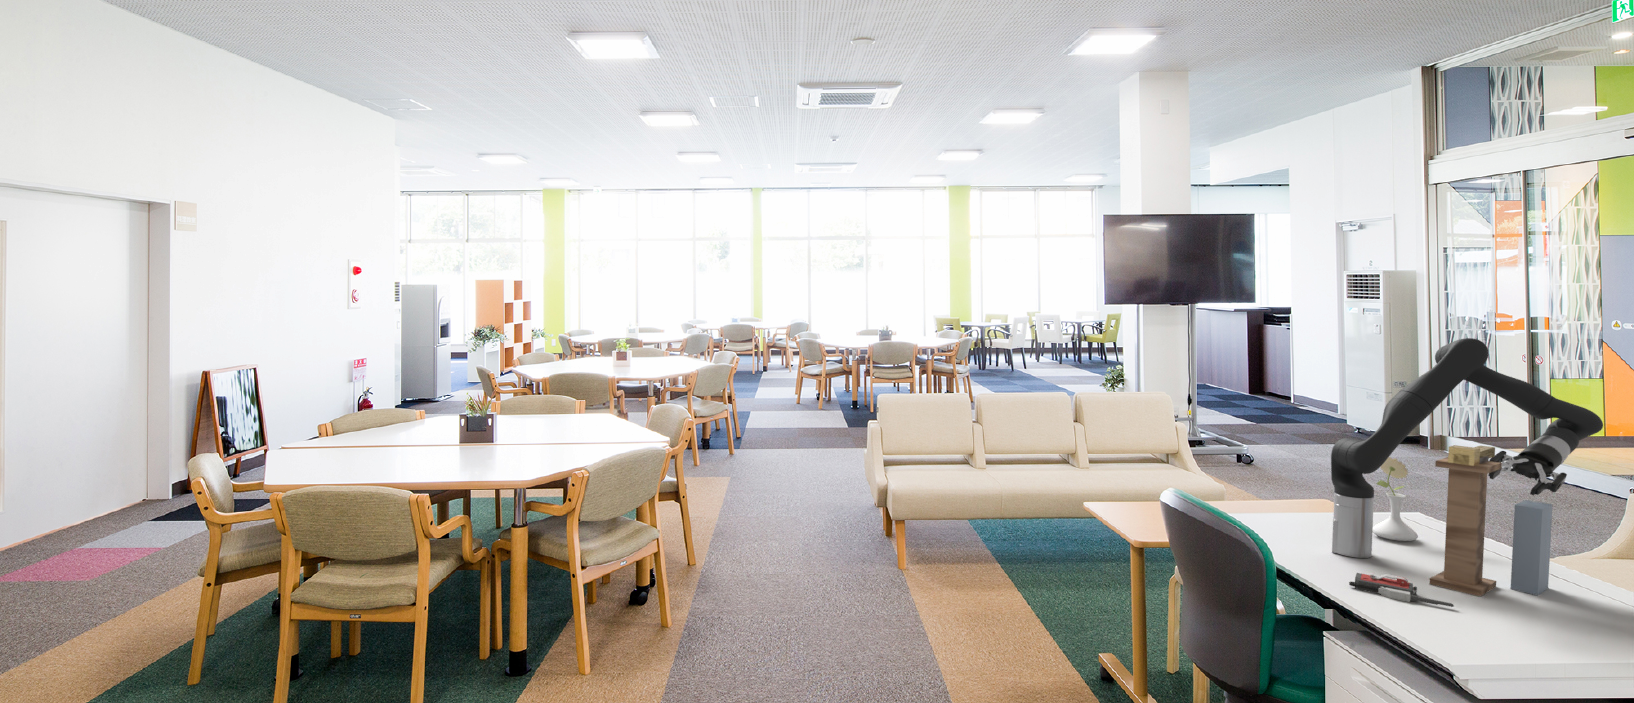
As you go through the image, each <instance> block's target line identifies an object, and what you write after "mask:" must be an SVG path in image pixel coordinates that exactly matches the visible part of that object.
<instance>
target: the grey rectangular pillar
mask: <svg viewBox="0 0 1634 703" xmlns="http://www.w3.org/2000/svg"><path fill="white" fill-rule="evenodd" d="M1513 514H1514V515H1513V534H1512V535H1513V536H1512V555H1511V572H1510V590H1514V591H1518V592H1522V593H1526V594H1531V595H1535V596H1539V595H1541V594H1542V593H1543V592H1544V591H1546V590H1548V589H1549V580H1550V579H1549V577H1550V560H1551V559H1550V558H1551V544H1552V543H1551V541H1552V522H1553V520H1552V519H1553V504H1552V503H1551V504H1550V503H1547V502H1546V503H1545V502H1540V501H1532V500H1527V499H1525V500H1522V501H1521V502H1519V503H1516V504H1514V513H1513Z"/></svg>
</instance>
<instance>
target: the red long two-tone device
mask: <svg viewBox="0 0 1634 703" xmlns="http://www.w3.org/2000/svg"><path fill="white" fill-rule="evenodd" d="M1348 583H1349V586H1351V587H1354V589H1356V590H1359V591H1363V590H1366V591H1365V592H1368V591H1370V593H1374V594H1379V595H1380V594H1381V595H1380V596H1383V597H1385V598H1388V599H1393V600H1396V601H1397V600H1398V601H1403V602H1406V603H1410V602H1411V601H1413V602H1422V603H1426V604H1432V605H1437V606H1438V605H1439V606H1447V607H1451V608H1452V607H1455V605H1454V603H1452V602H1447V601H1442V600H1436V599H1431V598H1427V597H1421V596H1418V595H1417V594H1418V593H1417V592H1418V587H1417V586H1414V583H1412V582H1409V581H1408V579H1407V578H1406V577H1403V576H1398V575H1397V576H1396V575H1395V574H1394V575H1392V574H1386V573H1385V574H1382V575H1375V573H1373V572H1370V574H1365V573H1360V572H1356V573H1355V576H1354V581H1349V582H1348Z"/></svg>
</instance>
